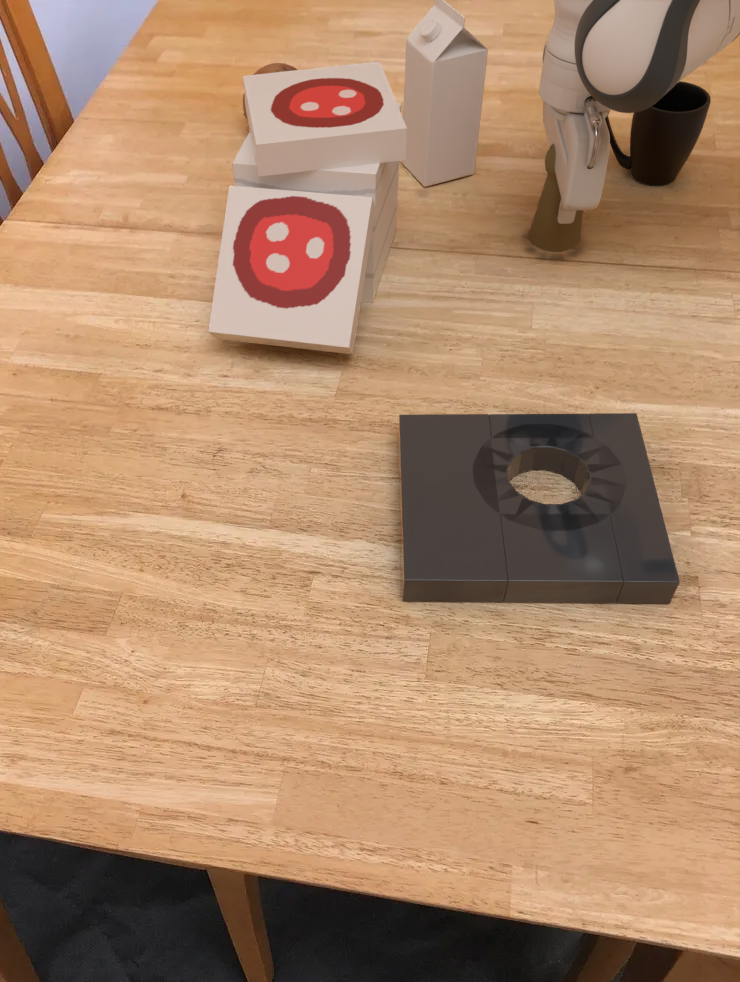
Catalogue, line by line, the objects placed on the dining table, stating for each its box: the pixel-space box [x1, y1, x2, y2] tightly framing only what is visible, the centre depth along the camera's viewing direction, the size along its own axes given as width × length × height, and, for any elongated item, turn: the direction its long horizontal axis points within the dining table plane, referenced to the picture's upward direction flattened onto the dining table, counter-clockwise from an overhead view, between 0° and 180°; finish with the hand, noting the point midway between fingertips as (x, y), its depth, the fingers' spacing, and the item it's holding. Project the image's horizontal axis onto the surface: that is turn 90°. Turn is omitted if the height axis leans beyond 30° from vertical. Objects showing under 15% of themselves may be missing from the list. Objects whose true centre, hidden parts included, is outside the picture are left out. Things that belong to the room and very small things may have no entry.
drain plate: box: [397, 412, 681, 605], centre depth 82 cm, size 22×20×3 cm
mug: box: [605, 80, 712, 187], centre depth 113 cm, size 8×12×10 cm
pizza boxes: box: [207, 60, 407, 355], centre depth 98 cm, size 19×30×18 cm, turn 166°
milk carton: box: [400, 0, 489, 188], centre depth 112 cm, size 7×7×19 cm
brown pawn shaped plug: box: [528, 144, 588, 253], centre depth 104 cm, size 6×6×11 cm
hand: (560, 204), depth 106 cm, fingers open, 5 cm apart
